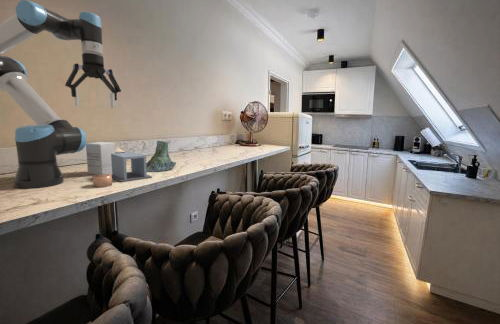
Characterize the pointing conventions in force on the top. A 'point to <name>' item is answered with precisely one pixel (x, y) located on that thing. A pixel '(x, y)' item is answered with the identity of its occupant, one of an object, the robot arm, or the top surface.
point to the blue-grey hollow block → (136, 164)
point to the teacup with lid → (119, 151)
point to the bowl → (102, 180)
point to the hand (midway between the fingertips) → (96, 106)
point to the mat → (130, 177)
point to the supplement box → (99, 157)
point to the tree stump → (160, 159)
